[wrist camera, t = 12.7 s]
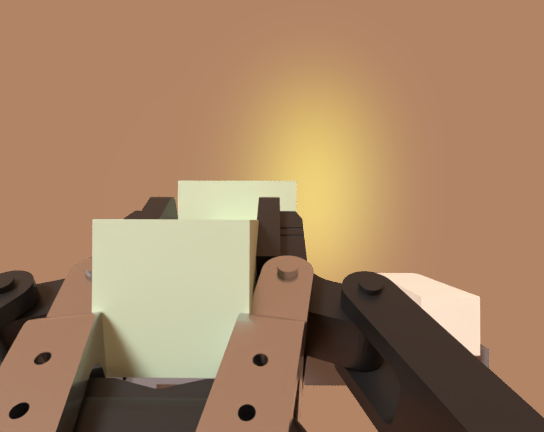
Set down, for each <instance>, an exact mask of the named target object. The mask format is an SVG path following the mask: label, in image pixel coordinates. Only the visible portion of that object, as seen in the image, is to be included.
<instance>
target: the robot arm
mask: <svg viewBox="0 0 544 432" xmlns="http://www.w3.org/2000/svg"><path fill="white" fill-rule="evenodd" d="M124 219H178V216H177V210H176V203H175V199H174V198H173V197H151V198H150V199H149V200H148V202H147V203H146V205H145V206H144V208H143V209H142V211H134V212H133V213H131V214H130V215H128V216H127V217H125V218H124ZM257 220H259V226H258V238H257V250H256V273H257V285H256V288H255V291H254V294H253V297H252V304H251V314H249V313H240V314H239V315H238V317H237V320H236V323H235V325H234V328H233V331H232V333H231V336H230V339H229V342H228V344H227V347H226V350H225V353H224V355H223V358H222V361H221V364H220V366H219V369H218V372H217V374H216V377H215V379H203V380H198V381H194V382H189V383H184V384H180V385H175V386H170V387H166V388H160V389H155V388H151V387H147V386H143V385H140V384H136V383H132V381H133V377H107V374H106V361H105V348H104V335H103V322H102V312H92V257H89V258H87V259H84V260H82V261H80V262H78V263H77V264H75V265H74V266H73V267H72V268H71V269H70V271H69V272H68V274H67V276H66V278H65V279H61V280H57V281H52V282H46V283H41V284H36V283H35V280H34V278H33V276H32V274H31V273H29V272H26V271H10V272H5V273H1V274H0V432H306V430H305V429H304V428H303V426H302V425H301V424H300V416H301V405H302V396H303V389H304V381H305V373H306V365H307V357H308V356H309V357H313V358H316V359H319V360H323V361H326V362H330V363H333V364H334V366H335V369H336V370H337V372H338V374H339V375H340V376H341V378H342V379H343V381H344V382H345V384H346V385H347V387H348V388H349V390H350V391H351V392H352V394H353V395H354V397H355V398H356V400H357V401H358V402H359V404H360V406H361V407H362V408H363V410H364V411H365V413H366V414H367V416H368V417H369V419H370V420H371V422H372V423H373V425H374V426H375V427H376V429H377V430H378V432H544V418H543V417H542V416H541V415H540V414H539V413H538V412H536V411H535V410H534V409H533V408H532V407H531V406H530V405H529V404H528V403H526V402H525V401H524V400H523V399H522V398H521V397H520V396H519V395H518V394H517V393H515V392H514V391H513V390H512V389H511V388H510V387H509V386H508V385H507V384H505V383H504V382H503V381H502V380H501V379H500V378H499V377H498V376H497V375H495V374H494V373H493V372H492V371H491V370H490V369H489V368H488V367H487V366H485V365H484V364H483V363H482V362H481V361H480V360H479V359H478V358H477V357H476V356H474V355H473V354H472V353H471V352H470V351H469V350H468V349H467V348H466V347H464V346H463V345H462V344H461V343H460V342H459V341H458V340H457V339H456V338H454V337H453V336H452V335H451V334H450V333H449V332H448V331H447V330H446V329H444V328H443V327H442V326H441V325H440V324H439V323H438V322H437V321H436V320H434V319H433V318H432V317H431V316H430V315H429V314H428V313H427V312H426V311H425V310H423V309H422V308H421V307H420V306H419V305H418V304H417V303H416V302H415V301H413V300H412V299H411V298H410V297H409V296H408V295H407V294H406V293H405V292H403V291H402V290H401V289H400V288H399V287H398V286H397V285H396V284H395V283H393V282H392V281H391V280H390V279H388V278H387V277H385V276H383V275H381V274H378V273H374V272H367V271H362V272H355V273H352V274H350V275H348V276H347V277H346V278H345V279H344V280H343V283H342V284H341V283H337V282H332V281H329V280H325V279H323V278H321V277H318V276H317V275H315V274H314V273H313V267H312V266H311V264H310V263H308V262H307V258H306V249H305V240H304V231H303V223H302V218H301V217H300V216H299V215H298V214H297V213H296V212H295V211H280V197H259V202H258V213H257Z"/></svg>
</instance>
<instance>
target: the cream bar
mask: <svg viewBox="0 0 544 432" xmlns="http://www.w3.org/2000/svg"><path fill="white" fill-rule="evenodd" d="M378 274H381V275H383V276H385V277H387V278H388V279H390V280H391V281H392V282H393V283H395V284H396V285H397V286H398V287H399V288H400V289H401V290H402V291H403V292H405V293H406V294H407V295H408V296H409V297H410V298H411V299H412V300H413V301H415V302H416V303H417V304H418V305H419V306H420V307H421V308H422V309H423V310H425V311H426V312H427V313H428V314H429V315H430V316H431V317H432V318H433V319H434V320H436V321H437V322H438V323H439V324H440V325H441V326H442V327H443V328H444V329H446V330H447V331H448V332H449V333H450V334H451V335H452V336H453V337H454V338H456V339H457V340H458V341H459V342H460V343H461V344H462V345H463V346H464V347H466V348H467V349H468V350H469V351H470V352H471V353H472V354H473V355H474V356H480V297H478V296H476V295H473V294H470V293H467V292H465V291H462V290H460V289H457V288H454V287H451V286H449V285H446V284H443V283H441V282H438V281H435V280H432V279H430V278H427V277H425V276H422V275H419V274H416V273H378Z"/></svg>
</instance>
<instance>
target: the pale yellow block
mask: <svg viewBox="0 0 544 432" xmlns="http://www.w3.org/2000/svg"><path fill="white" fill-rule="evenodd" d="M259 197H280V211H295V212H296V181H178V219H93V233H92V238H93V239H92V312H102V322H103V335H104V348H105V361H106V374H107V377H133V378H215V377H216V374H217V372H218V369H219V366H220V364H221V361H222V358H223V355H224V353H225V350H226V347H227V344H228V342H229V339H230V336H231V333H232V331H233V328H234V325H235V323H236V320H237V317H238V315H239V314H240V313H249V314H251V304H252V297H253V294H254V291H255V288H256V285H257V273H256V250H257V238H258V226H259V220H257V213H258V202H259Z"/></svg>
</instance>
